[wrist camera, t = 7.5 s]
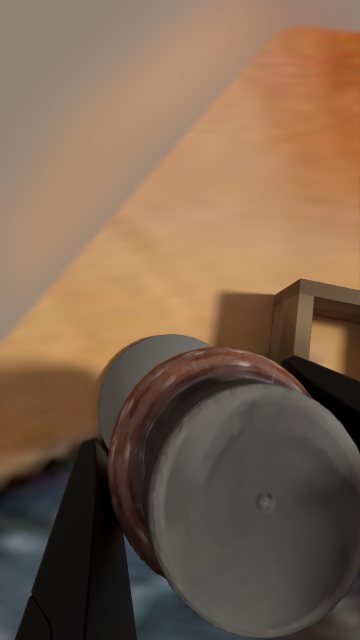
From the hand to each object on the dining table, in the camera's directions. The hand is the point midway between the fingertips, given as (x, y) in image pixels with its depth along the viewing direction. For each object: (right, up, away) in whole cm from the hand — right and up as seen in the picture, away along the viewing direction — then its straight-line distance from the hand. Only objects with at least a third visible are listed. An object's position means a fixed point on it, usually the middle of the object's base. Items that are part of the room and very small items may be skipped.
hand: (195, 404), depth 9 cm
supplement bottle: (0, -3, +7) cm, 8 cm away
